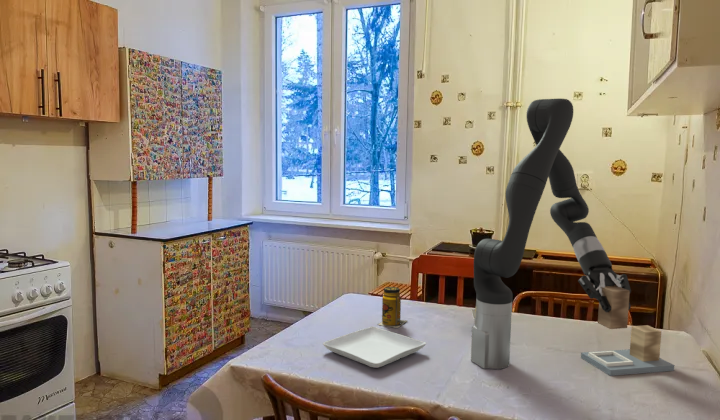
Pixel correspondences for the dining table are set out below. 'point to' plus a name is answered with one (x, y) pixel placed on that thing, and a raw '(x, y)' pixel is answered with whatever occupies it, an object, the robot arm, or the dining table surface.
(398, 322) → the condiment
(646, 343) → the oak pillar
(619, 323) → the walnut pillar
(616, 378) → the dining table surface
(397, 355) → the salad plate
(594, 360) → the board
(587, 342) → the dining table surface
